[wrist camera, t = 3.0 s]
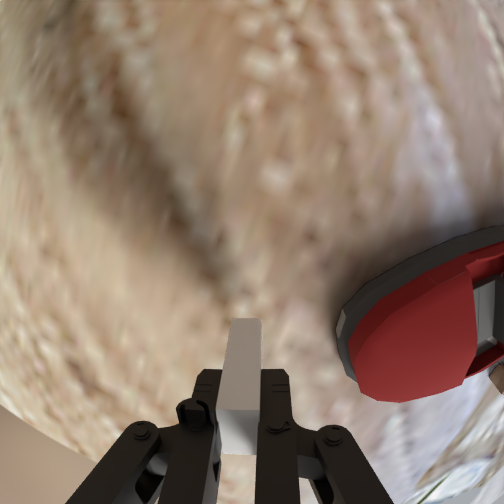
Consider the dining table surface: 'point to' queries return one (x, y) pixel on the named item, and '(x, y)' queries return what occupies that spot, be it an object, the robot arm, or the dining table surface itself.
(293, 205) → the dining table surface
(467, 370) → the bumper car
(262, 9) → the dining table surface
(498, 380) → the cradle
